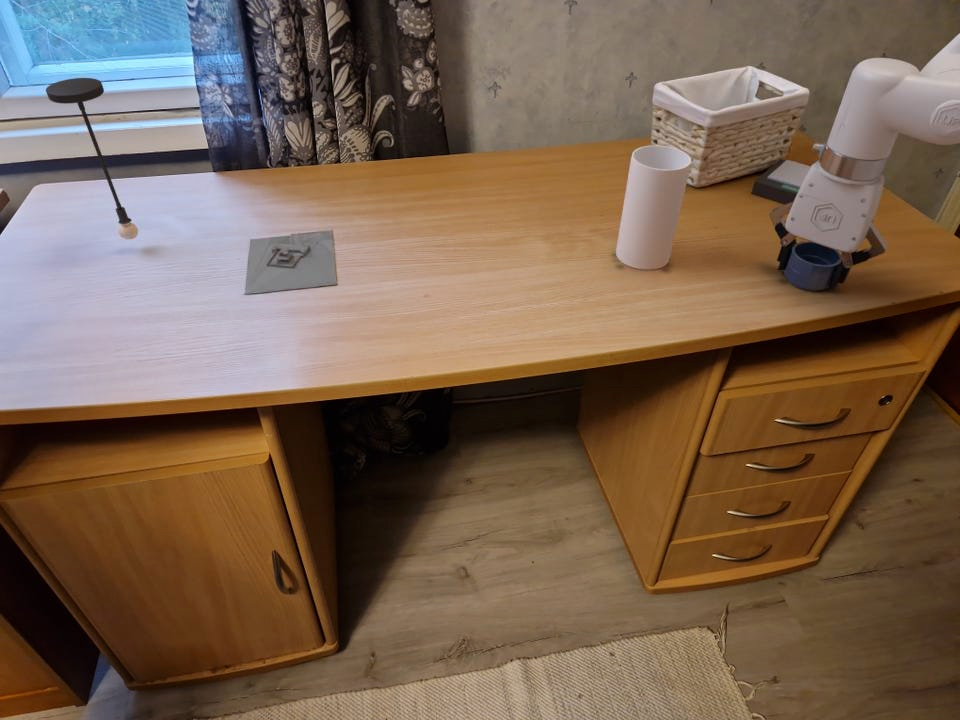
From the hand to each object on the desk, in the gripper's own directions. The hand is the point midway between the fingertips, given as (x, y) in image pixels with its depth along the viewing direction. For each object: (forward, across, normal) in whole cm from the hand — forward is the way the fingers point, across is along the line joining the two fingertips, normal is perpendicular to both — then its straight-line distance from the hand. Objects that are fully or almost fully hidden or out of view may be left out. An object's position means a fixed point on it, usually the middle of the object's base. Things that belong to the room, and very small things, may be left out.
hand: (808, 275), depth 100 cm
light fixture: (+1, -83, -60) cm, 102 cm away
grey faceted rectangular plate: (+1, -67, -45) cm, 81 cm away
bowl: (+1, 0, 0) cm, 1 cm away
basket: (+1, -28, +28) cm, 40 cm away
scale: (+1, -11, +27) cm, 29 cm away
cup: (+1, -22, -10) cm, 24 cm away
